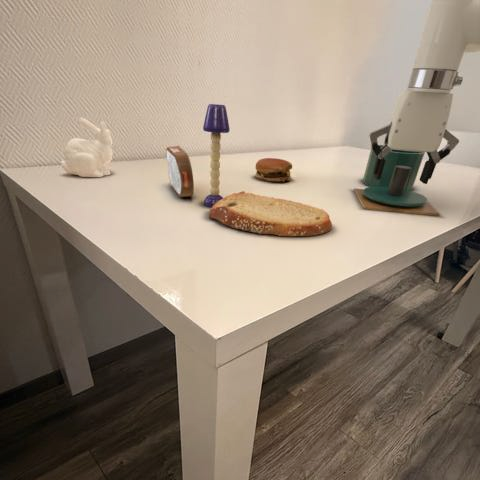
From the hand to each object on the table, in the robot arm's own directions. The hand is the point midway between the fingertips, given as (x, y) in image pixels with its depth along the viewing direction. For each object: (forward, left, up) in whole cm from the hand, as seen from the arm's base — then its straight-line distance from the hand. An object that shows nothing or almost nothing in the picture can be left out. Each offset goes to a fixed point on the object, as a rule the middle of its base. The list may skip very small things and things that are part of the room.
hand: (399, 180), depth 71 cm
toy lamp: (+38, +14, -5) cm, 40 cm away
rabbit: (+70, 0, -5) cm, 70 cm away
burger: (+28, -12, -5) cm, 30 cm away
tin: (+47, +8, -5) cm, 48 cm away
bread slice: (+27, +21, -5) cm, 34 cm away
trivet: (0, 0, -5) cm, 5 cm away
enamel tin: (-2, -17, -5) cm, 18 cm away
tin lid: (0, 0, -4) cm, 4 cm away
